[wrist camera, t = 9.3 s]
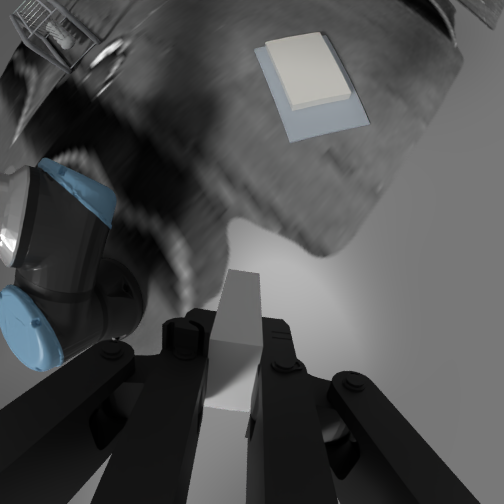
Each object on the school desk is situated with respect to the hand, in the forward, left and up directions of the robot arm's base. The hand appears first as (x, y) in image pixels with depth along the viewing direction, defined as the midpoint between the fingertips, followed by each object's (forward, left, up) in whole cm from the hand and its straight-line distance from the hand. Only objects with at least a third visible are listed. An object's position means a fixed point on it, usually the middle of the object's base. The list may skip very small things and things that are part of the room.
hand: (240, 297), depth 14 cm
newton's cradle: (-65, +36, -31) cm, 81 cm away
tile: (+1, +26, -29) cm, 39 cm away
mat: (-2, +30, -30) cm, 43 cm away
